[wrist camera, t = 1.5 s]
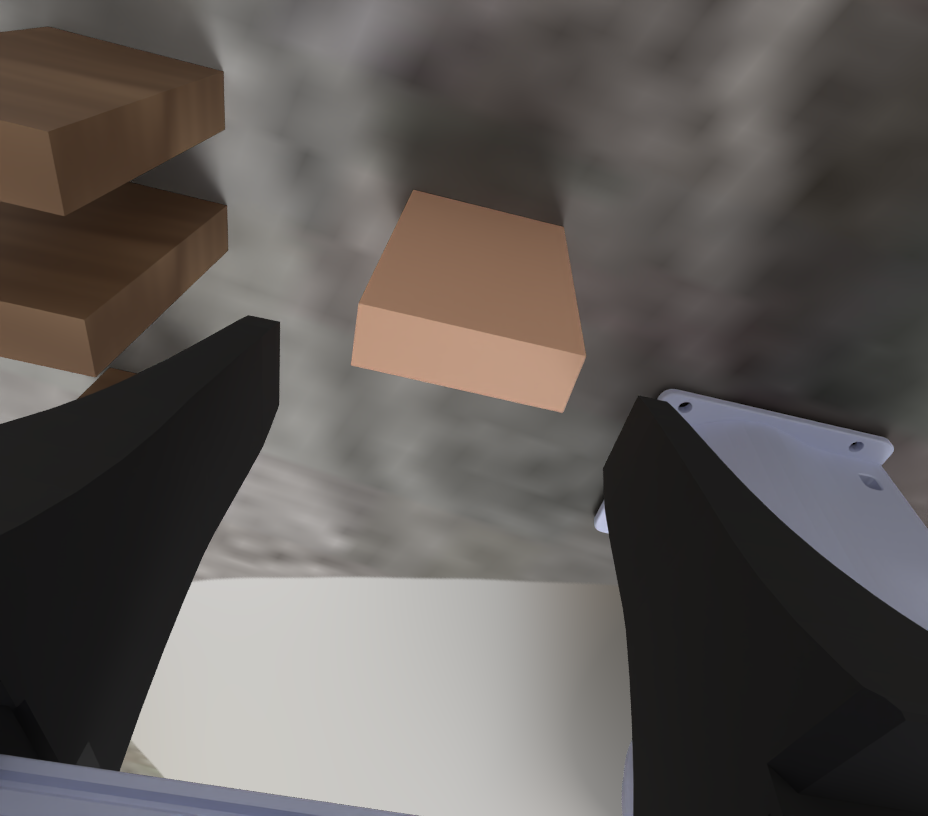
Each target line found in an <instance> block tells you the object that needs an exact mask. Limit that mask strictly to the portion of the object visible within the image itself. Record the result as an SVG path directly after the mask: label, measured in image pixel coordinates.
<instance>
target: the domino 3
mask: <svg viewBox="0 0 928 816" xmlns="http://www.w3.org/2000/svg"><path fill="white" fill-rule="evenodd" d="M585 358H586V352H585V346H584V341H583V335H582V329H581V324H580V318H579V312H578V306H577V301H576V295H575V289H574V283H573V278H572V272H571V266H570V261H569V255H568V249H567V243H566V238H565V232H564V227H562V226H558V225H554V224H550V223H546V222H541V221H537V220H533V219H529V218H525V217H521V216H517V215H513V214H509V213H505V212H501V211H497V210H493V209H489V208H485V207H481V206H477V205H473V204H469V203H465V202H461V201H457V200H453V199H449V198H445V197H441V196H437V195H433V194H429V193H425V192H421V191H417V190H413V191H412V193H411V196H410V198H409V200H408V202H407V204H406V206H405V208H404V210H403V212H402V214H401V216H400V218H399V220H398V223H397V225H396V227H395V229H394V231H393V233H392V235H391V237H390V239H389V241H388V243H387V245H386V247H385V250H384V252H383V254H382V256H381V258H380V260H379V262H378V264H377V266H376V268H375V270H374V272H373V275H372V277H371V279H370V281H369V283H368V285H367V287H366V289H365V291H364V293H363V295H362V297H361V299H360V302H359V305H358V313H357V321H356V329H355V337H354V345H353V353H352V362H351V365H352V366H357V367H361V368H365V369H370V370H374V371H379V372H383V373H388V374H392V375H397V376H401V377H406V378H410V379H414V380H419V381H423V382H428V383H432V384H437V385H441V386H446V387H450V388H454V389H459V390H463V391H468V392H472V393H477V394H481V395H486V396H490V397H494V398H499V399H503V400H508V401H512V402H517V403H521V404H526V405H530V406H534V407H539V408H543V409H548V410H552V411H557V412H561V413H563V411H564V409H565V406H566V404H567V402H568V399H569V397H570V394H571V392H572V389H573V387H574V385H575V382H576V380H577V377H578V375H579V373H580V370H581V368H582V365H583V363H584V360H585Z"/></svg>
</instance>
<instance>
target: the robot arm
mask: <svg viewBox="0 0 928 816" xmlns="http://www.w3.org/2000/svg"><path fill="white" fill-rule="evenodd" d="M279 368H280V322H278V321H273V320H268V319H264V318H259V317H254V316H249V315H248V316H246V317H244V318H242V319H240V320H238V321H236V322H234V323H233V324H231V325H229V326H227V327H225V328H224V329H222V330H220V331H218V332H216V333H215V334H213V335H211V336H209V337H208V338H206V339H204V340H202V341H200V342H199V343H197V344H195V345H193V346H191V347H189V348H187V349H186V350H184V351H182V352H180V353H178V354H176V355H175V356H173V357H171V358H169V359H167V360H165V361H163V362H161V363H159V364H157V365H154V366H152V367H150V368H148V369H146V370H144V371H142V372H140V373H138V374H136V375H134V376H132V377H129V378H127V379H125V380H123V381H121V382H119V383H116V384H114V385H112V386H110V387H107V388H105V389H102V390H100V391H97V392H95V393H93V394H90V395H87V396H85V397H82V398H79V399H77V400H74V401H71V402H69V403H66V404H63V405H60V406H58V407H55V408H52V409H49V410H46V411H42V412H39V413H36V414H32V415H29V416H26V417H23V418H19V419H16V420H13V421H9V422H6V423H3V424H0V816H417V815H410V814H404V813H397V812H390V811H383V810H376V809H370V808H363V807H356V806H349V805H342V804H336V803H329V802H322V801H316V800H308V799H302V798H295V797H288V796H281V795H274V794H267V793H261V792H254V791H248V790H241V789H234V788H227V787H220V786H214V785H206V784H200V783H193V782H186V781H180V780H173V779H166V778H159V777H153V776H146V775H139V774H132V773H125V772H119V771H120V768H121V765H122V762H123V760H124V757H125V754H126V751H127V748H128V746H129V743H130V740H131V737H132V734H133V731H134V729H135V725H136V723H137V720H138V717H139V714H140V712H141V709H142V706H143V704H144V701H145V698H146V696H147V693H148V690H149V688H150V685H151V682H152V680H153V677H154V675H155V672H156V669H157V667H158V664H159V661H160V659H161V656H162V653H163V651H164V648H165V645H166V643H167V641H168V638H169V636H170V633H171V631H172V628H173V626H174V623H175V621H176V618H177V616H178V614H179V611H180V609H181V606H182V603H183V601H184V599H185V596H186V594H187V592H188V590H189V587H190V585H191V582H192V580H193V578H194V575H195V573H196V571H197V568H198V566H199V564H200V561H201V559H202V557H203V555H204V553H205V551H206V549H207V547H208V545H209V543H210V541H211V539H212V537H213V535H214V533H215V531H216V529H217V528H218V526H219V524H220V522H221V521H222V519H223V517H224V515H225V514H226V512H227V510H228V508H229V506H230V505H231V503H232V501H233V499H234V498H235V496H236V494H237V492H238V490H239V489H240V487H241V485H242V483H243V482H244V480H245V478H246V476H247V475H248V473H249V471H250V469H251V467H252V465H253V464H254V462H255V460H256V458H257V456H258V455H259V453H260V451H261V449H262V447H263V445H264V443H265V440H266V438H267V435H268V433H269V430H270V428H271V425H272V422H273V420H274V417H275V414H276V412H277V409H278V406H279ZM684 402H689V404H688V405H687V406H685V407H679V405H680V404H681V403H684ZM855 442H857V443H856V444H854V445H851V444H852V443H855ZM850 445H851V446H850ZM893 451H894V446H893V445H892V444H891V442H890V441H889V440H888V439H887V438H885V437H881V436H877V435H872V434H868V433H864V432H859V431H855V430H851V429H846V428H842V427H838V426H833V425H829V424H825V423H820V422H816V421H812V420H808V419H803V418H799V417H795V416H790V415H786V414H782V413H777V412H773V411H769V410H764V409H760V408H756V407H751V406H747V405H743V404H738V403H734V402H730V401H725V400H721V399H717V398H713V397H708V396H704V395H700V394H695V393H691V392H687V391H682V390H678V389H669V390H665V391H664V392H662V393H661V394H660V395H659V397H658V398H657V399H652V398H647V397H642V396H638V398H637V400H636V402H635V404H634V406H633V408H632V410H631V412H630V414H629V416H628V418H627V420H626V422H625V424H624V426H623V428H622V430H621V433H620V435H619V437H618V439H617V441H616V443H615V445H614V447H613V449H612V451H611V453H610V455H609V457H608V459H607V461H606V463H605V466H604V468H603V480H604V501H603V503H602V504H601V506H600V508H599V510H598V512H597V514H596V516H595V518H594V525H595V528H596V529H597V530H598V531H601V532H604V533H609V538H610V543H611V549H612V554H613V559H614V564H615V570H616V575H617V580H618V585H619V591H620V596H621V601H622V606H623V612H624V620H625V626H626V637H627V649H628V662H629V676H630V695H631V715H632V741H631V743H630V746H629V749H628V752H627V755H626V761H625V768H624V777H623V783H622V814H623V816H928V529H927V527H926V526H925V525H924V523H923V522H922V521H921V519H920V518H919V516H918V515H917V514H916V512H915V511H914V510H913V508H912V507H911V505H910V504H909V503H908V501H907V500H906V499H905V497H904V496H903V495H902V493H901V492H900V490H899V489H898V488H897V486H896V485H895V484H894V482H893V481H892V479H891V478H890V477H889V475H888V474H887V473H886V471H885V470H884V469H883V467H882V466H881V465H882V464H883V463H884V462H885V461H886V460H887V459H888V458H889V456H890V455H891V454H892V453H893Z"/></svg>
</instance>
